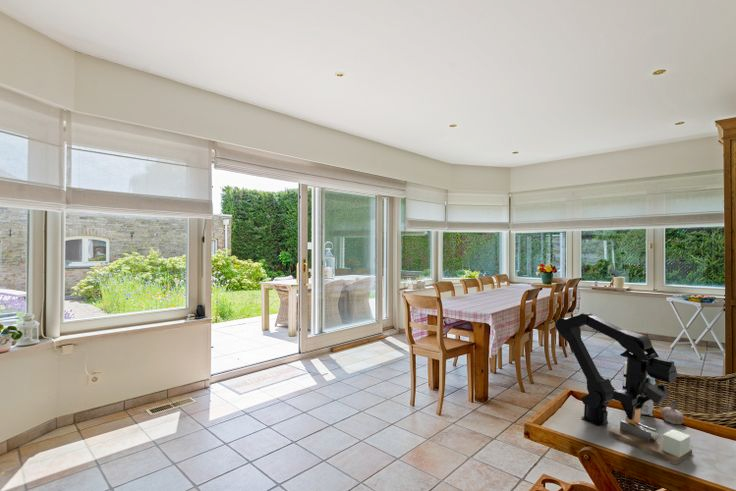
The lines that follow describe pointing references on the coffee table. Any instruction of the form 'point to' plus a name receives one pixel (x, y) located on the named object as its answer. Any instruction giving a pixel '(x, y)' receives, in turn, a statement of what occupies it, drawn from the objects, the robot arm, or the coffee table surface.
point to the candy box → (649, 404)
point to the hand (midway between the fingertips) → (633, 417)
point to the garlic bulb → (672, 414)
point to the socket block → (676, 443)
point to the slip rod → (636, 420)
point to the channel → (637, 431)
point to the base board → (648, 445)
